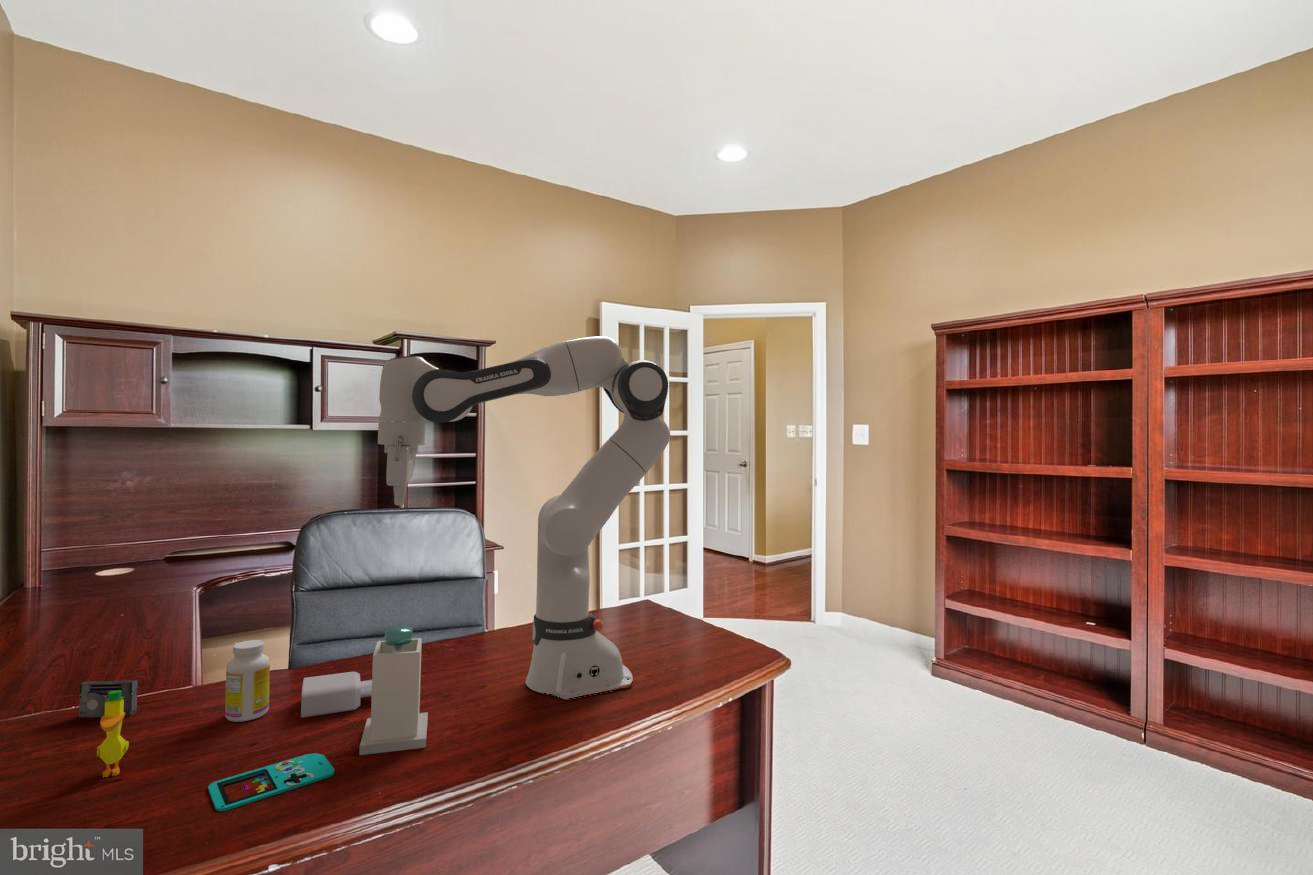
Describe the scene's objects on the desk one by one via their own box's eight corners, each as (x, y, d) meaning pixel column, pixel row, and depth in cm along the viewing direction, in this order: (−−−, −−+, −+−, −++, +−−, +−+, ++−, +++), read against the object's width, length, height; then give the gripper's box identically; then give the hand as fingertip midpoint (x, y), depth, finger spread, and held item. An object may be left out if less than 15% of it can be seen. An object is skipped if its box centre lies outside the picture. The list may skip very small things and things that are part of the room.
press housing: (427, 720, 114) (430, 635, 114) (425, 747, 104) (428, 654, 104) (367, 726, 111) (369, 638, 110) (359, 755, 101) (362, 659, 101)
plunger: (412, 692, 110) (414, 624, 110) (410, 704, 106) (413, 633, 106) (382, 695, 109) (385, 626, 109) (379, 707, 104) (382, 634, 104)
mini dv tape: (136, 712, 113) (137, 679, 113) (131, 716, 112) (132, 682, 112) (85, 714, 112) (86, 680, 112) (78, 717, 110) (79, 683, 110)
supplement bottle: (269, 704, 118) (271, 636, 118) (267, 718, 112) (270, 647, 112) (226, 710, 115) (228, 640, 115) (222, 726, 109) (224, 652, 109)
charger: (391, 706, 119) (300, 720, 112) (387, 688, 128) (303, 700, 121) (391, 681, 119) (301, 694, 112) (388, 664, 127) (303, 675, 121)
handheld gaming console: (336, 770, 95) (217, 808, 85) (336, 776, 95) (217, 816, 85) (320, 748, 101) (207, 782, 91) (320, 755, 101) (206, 789, 91)
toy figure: (122, 782, 91) (124, 699, 91) (89, 788, 89) (91, 704, 89) (130, 760, 97) (133, 683, 97) (100, 766, 95) (102, 687, 95)
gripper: (415, 437, 118) (413, 511, 118) (420, 436, 138) (418, 499, 138) (379, 436, 116) (376, 511, 116) (389, 435, 136) (387, 499, 136)
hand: (399, 504), depth 127 cm, fingers closed
